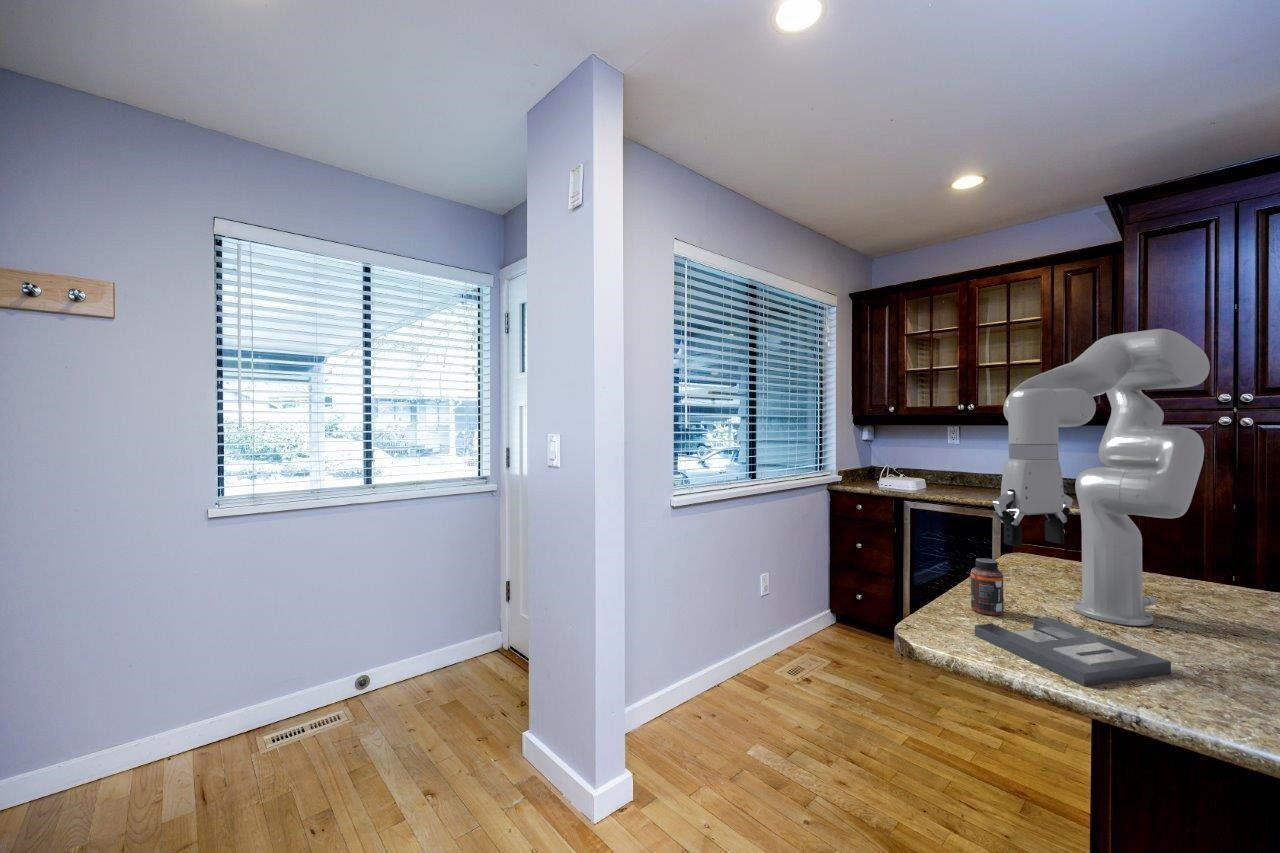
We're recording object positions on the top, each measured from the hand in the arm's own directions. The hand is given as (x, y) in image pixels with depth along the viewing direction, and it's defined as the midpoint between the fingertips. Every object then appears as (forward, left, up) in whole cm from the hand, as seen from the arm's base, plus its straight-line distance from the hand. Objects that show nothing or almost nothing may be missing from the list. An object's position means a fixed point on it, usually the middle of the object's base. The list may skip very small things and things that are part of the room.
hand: (1033, 543), depth 97 cm
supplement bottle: (-4, -14, -18) cm, 24 cm away
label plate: (0, +5, -18) cm, 19 cm away
